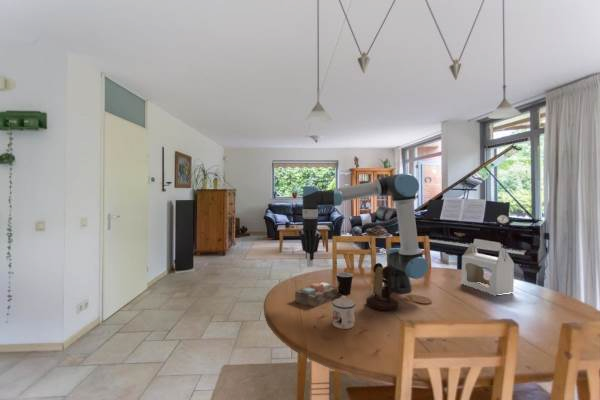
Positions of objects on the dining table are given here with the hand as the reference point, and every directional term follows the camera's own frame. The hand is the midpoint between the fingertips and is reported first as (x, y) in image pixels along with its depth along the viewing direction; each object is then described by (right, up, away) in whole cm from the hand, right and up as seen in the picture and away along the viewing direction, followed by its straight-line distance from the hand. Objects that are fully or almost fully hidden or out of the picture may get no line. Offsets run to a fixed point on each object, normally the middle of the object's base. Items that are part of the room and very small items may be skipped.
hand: (309, 266), depth 141 cm
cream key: (+8, -17, +9) cm, 20 cm away
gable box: (+103, -19, +25) cm, 107 cm away
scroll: (+34, -19, -3) cm, 39 cm away
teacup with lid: (+13, -19, -25) cm, 34 cm away
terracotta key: (+4, -15, +5) cm, 16 cm away
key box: (+4, -18, +5) cm, 19 cm away
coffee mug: (+19, -18, +16) cm, 31 cm away
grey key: (0, -16, 0) cm, 16 cm away
